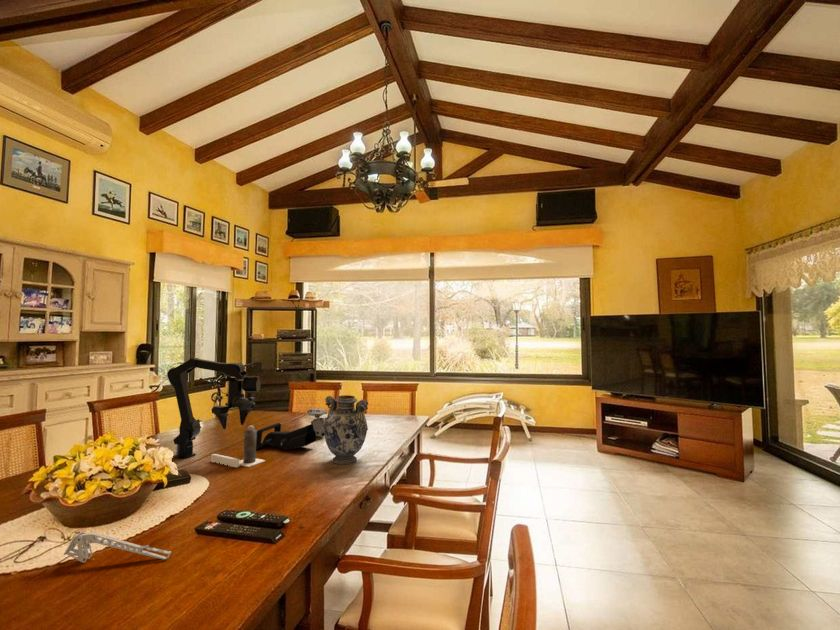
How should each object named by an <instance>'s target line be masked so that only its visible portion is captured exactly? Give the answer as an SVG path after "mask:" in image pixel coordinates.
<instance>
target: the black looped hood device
mask: <svg viewBox="0 0 840 630" xmlns="http://www.w3.org/2000/svg"><path fill="white" fill-rule="evenodd" d="M307 425H308V426H307ZM307 425H305V426H302V427H300V428H297V429H294V430H292V431H291V430H289V431H285V430H283V431H281V430H282V423H280V422H277V423H274V424H270V425H268V426H266V427H262V428H260V429H257V437H256V450H258V449H261V448H263V447H266V446H268V445H271V446H274V447H277V448H279V449H282V450H284V451H285V450H286V451H290V450H293V449H298V448H302V447H306V446H309V445H311V444H313V443H315V442H317V439H316V432H315V431H314V429H313V424H311V423H310V424H307ZM272 429H274V430H273V431H270V430H272ZM266 431H270V432H269V433H267V434H266V435H265V436H264V438H263V433H264V432H266ZM262 438H263V440H262Z"/></svg>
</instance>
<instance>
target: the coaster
mask: <svg viewBox="0 0 840 630" xmlns="http://www.w3.org/2000/svg"><path fill="white" fill-rule="evenodd" d="M264 462H266V460H265V459H261V458H257V457H256V461H255V462H253V463H243V459H241V460H240V459H239V466H241V467H246V468H250V467H253V466H256V465H259V464H262V463H264Z"/></svg>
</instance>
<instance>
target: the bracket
mask: <svg viewBox="0 0 840 630" xmlns="http://www.w3.org/2000/svg"><path fill="white" fill-rule="evenodd" d="M100 538H101V539H100ZM105 540H106V541H105ZM114 542H115V543H114ZM91 544H98V545H103V546H107V547H111V548H115V549H119V550H122V551H127V552H131V553H134V554H138V555H142V556H147V557H151V558H155V559H159V560H168V559H169V557H170V555H171V554H172V551H171V550H169V551H168V550H165V549H160V548H156V547H151V546H149V545H150V544H146V545H140V544H136V543H133V542H130V541H129V542H128V541H126V540H122V539H119V538H115V537H111V536H108V535H104V534H101V533H98V532H90V533H89V532H84V530H83V531H81V532H79V533H78V534H76V535H75V536H73V538H72V539H71V541H70V543H69V545H68V546H67V548H66V549H65V552H64V553H63V556H66V555H67V556H69V557H72V558H73V559H75V560H76V561H78V562H80V563H86V562H87V560H90V559H91V558H92V556H93V549H92V546H91ZM76 545H77V548H75V547H76ZM145 549H146V550H145ZM151 551H152V552H151ZM154 552H155V553H154ZM156 552H158V553H160V554H157V553H156ZM161 554H164V555H167V556H164V555H161Z"/></svg>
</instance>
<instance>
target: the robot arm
mask: <svg viewBox="0 0 840 630" xmlns="http://www.w3.org/2000/svg"><path fill="white" fill-rule="evenodd" d="M196 368H197V369H203V370H209V371H214V372H219V373H222V374H224V375H225V376H226V378H224V379H223V382H227V383H228V385H227V393H225V397H227V402H226V403H225V405H220V404H219V405H215V406H212V408H211V414H214V416H216V417H217V419H218V420H219V423H220V425H221V426H222V427H221V428H222V429H223V430H226V429H227V420H228V416H229V415H230V413H228V412H229V411H234V410H238V413H239V422H240V425H241V426H243V425H244V424H245V421H246V418H247V416H248V415H249V413H250V412H251V411H253V410H254V409H255V408H256V403H255V397H252V396H250V397H247V398H246V397H245V393H243V391H244V392H247V393H248V392H249V393H250V392H252V393H256V392H257V393H259V392H260V389H261V384H262V383H261V381H260V376H250V375H249V374H248V373H247V371H246V370H245V366H244V364H243V363H241V362H219V361H214V360H209V359H202V358H198V357H192V358H190V359H188V360H186V361H185V362H183V363H181V364H179V365H178V366H175V367H171V368H169V370H168V371H167V372H166V373H167V374H166V377H167V379H168V381H169V384H170V385H171V386H172V387H173V389H174V391H175V398H176V402H177V407H178V411H179V415H180V416H179V417H180V423H179V427H178V430H179V434H178V435H177V436H176V437H174V439H173V440H172V441H173V443H174V445H176V451H175V452H176V453H175V454H173V455H174V457H173V458H177V459H182V460H183V459H187V458H190V457H193V456H196V455H197V454H196V453H194V450H193V449H194V440H196V438H197V436H199V434H200V433H201V429H202V426H201V421H200V419H196V418H195V417H194V413H193V408H192V404H191V399H190V395H189V390H188V386H187V385H188V381H189V374H190V373H192V372H193V371H194V370H195V369H196Z"/></svg>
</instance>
